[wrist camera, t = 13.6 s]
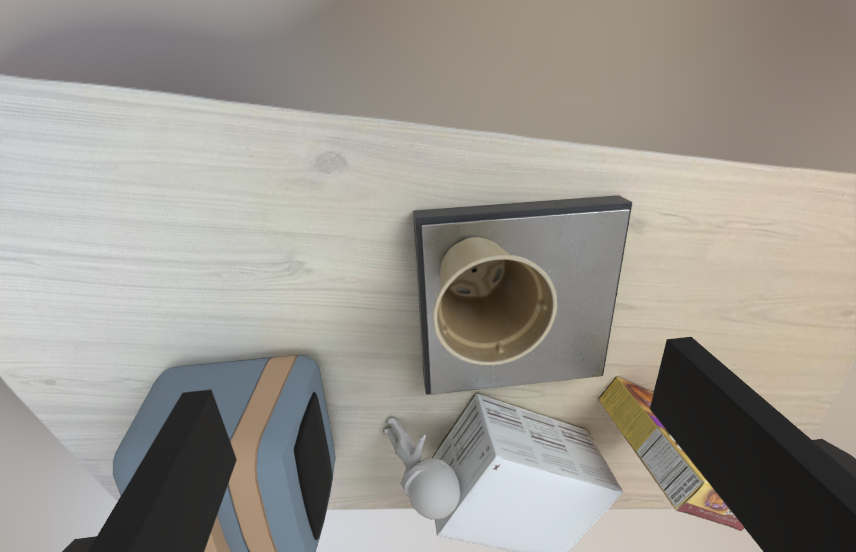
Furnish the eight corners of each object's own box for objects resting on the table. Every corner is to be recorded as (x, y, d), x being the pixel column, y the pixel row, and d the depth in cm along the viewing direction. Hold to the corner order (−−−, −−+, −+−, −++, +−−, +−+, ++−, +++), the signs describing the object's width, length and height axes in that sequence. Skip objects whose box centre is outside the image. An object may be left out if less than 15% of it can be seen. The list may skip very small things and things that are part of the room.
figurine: (383, 401, 47) (441, 493, 39) (421, 394, 50) (482, 478, 42) (364, 452, 50) (414, 548, 42) (402, 443, 53) (455, 529, 45)
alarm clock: (339, 456, 52) (324, 601, 37) (201, 471, 50) (131, 628, 36) (319, 345, 45) (291, 472, 30) (157, 360, 43) (49, 500, 29)
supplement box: (425, 465, 54) (433, 538, 45) (475, 390, 49) (495, 454, 41) (533, 495, 59) (559, 566, 50) (588, 428, 54) (627, 494, 46)
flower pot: (418, 223, 37) (428, 263, 29) (523, 212, 37) (561, 249, 30) (426, 316, 41) (437, 372, 33) (521, 305, 41) (553, 358, 34)
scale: (413, 210, 39) (415, 220, 37) (619, 195, 41) (636, 203, 38) (423, 380, 48) (426, 398, 45) (593, 362, 49) (605, 379, 47)
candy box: (671, 395, 53) (773, 506, 39) (649, 419, 54) (740, 535, 41) (617, 372, 51) (707, 483, 37) (596, 398, 52) (674, 514, 38)
